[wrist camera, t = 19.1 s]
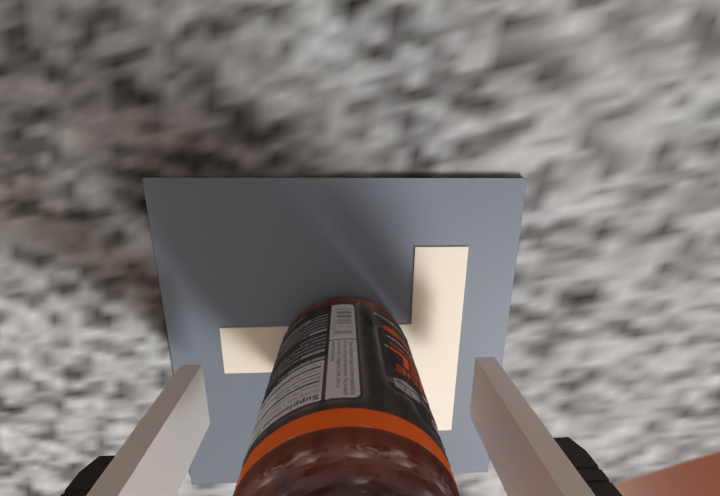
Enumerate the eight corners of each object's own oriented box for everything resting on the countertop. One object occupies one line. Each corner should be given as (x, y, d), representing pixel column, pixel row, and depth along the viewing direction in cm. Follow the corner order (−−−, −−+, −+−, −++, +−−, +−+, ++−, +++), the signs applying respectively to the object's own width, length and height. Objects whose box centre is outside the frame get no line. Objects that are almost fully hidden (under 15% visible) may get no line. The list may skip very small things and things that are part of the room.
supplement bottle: (426, 369, 17) (570, 742, 6) (320, 419, 18) (289, 846, 7) (371, 268, 16) (439, 540, 5) (256, 327, 16) (85, 693, 5)
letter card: (145, 177, 14) (140, 177, 14) (523, 177, 15) (528, 178, 15) (194, 479, 19) (191, 485, 19) (485, 467, 20) (488, 473, 19)
